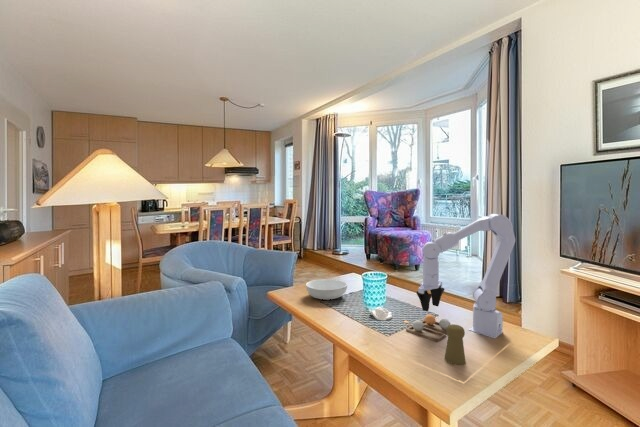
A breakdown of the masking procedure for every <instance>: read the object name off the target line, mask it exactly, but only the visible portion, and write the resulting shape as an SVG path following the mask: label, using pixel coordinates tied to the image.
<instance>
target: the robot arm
mask: <svg viewBox="0 0 640 427" xmlns="http://www.w3.org/2000/svg"><path fill="white" fill-rule="evenodd" d="M513 225H514V224H513V223H512V221H511V220H510V218H508V217H507V216H506V215H504V214H499V213H489V214H488V215H487V216H486V215H485V216H483V217H479V218H478V219H476V220H474V221H473V222H471V223H469V224H467V225H466V226H463V227H462V228H461V229H459V230H457V231H455V232H452V231H448V232H446V231H444V232H443V233H442V235H441V236H439V237H437V238H435V239H434V238H432V239H431V241H428V242H426V243H424V245H423V246H422V248H421V249H422V250H421V251H422V253H423V257H422V259H423V261H422V282H420V286H419V287H418V288H417V291H416V295H417V297H418V298H419V301H420V305H421V309H422V311H426V312H428V311H429V310H430V301H431V303H432V306H434V307H439V305H440V301H441V298H442V295H443V294H444V292H445V288H444V287H443V281H441V280H439V276H440V275H439V272H440V271H439V268H440V267H439V256H440V254H442V253H445V252H446V251H448V250H451V249H453V248H454V247H456V246H458V244H459V241H461V240H463V239H465V238H467V237H470V236H471V235H474V234H476V233H477V232H480V231H481V232H482V231H483V232H490V231H491V232H492V233H493V235H494V236H495V238H496V240H497V242H496V243H497V244H496V246H495V249H494V251H493V254H492V257H491V258H490V261H489V264H488V266H487V269H486V271H485V274H484V276H483V279H482V280H481V281H480V282H479V283H478V286H477V287H476V288H475V289H474V290H473V291H472V297H473V299H474V303H473V307H472V327H470V328H468V329H467V331H470V332H473V333H476V334H479V335H483V336H486V337H489V338H492V339H496V338H498V337H499V336H500V335H502V334H503V333H504V331H503V328H504V327H503V325H504V324H503V319H504V317H503V313H502V312H501V311H499V310H497V309H496V306H497V295H498V285H499V283H500V281H501V278H502V275H503V273H504V271H505V269H506V266H507V264H508V262H509V258H510V256H511V254H512V251H513V249H514V246H515V245H516V244H515V243H516V236H515V232H514V228H513ZM429 292H430V293H429Z"/></svg>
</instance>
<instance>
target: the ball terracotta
mask: <svg viewBox="0 0 640 427" xmlns="http://www.w3.org/2000/svg"><path fill="white" fill-rule="evenodd" d="M424 320H425V322H426V324H428V325H433V324H435V321H436V322H437V320H436V317H435V315H433V314H426V316H425V317H424Z"/></svg>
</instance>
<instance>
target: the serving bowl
mask: <svg viewBox="0 0 640 427" xmlns="http://www.w3.org/2000/svg"><path fill="white" fill-rule="evenodd" d="M305 287H306V291H307V293H308V295H310V296H311V297H312V298H315V299H319V300H322V299H323V300H324V301H329V300H330V299H331V300H333V299H338V298H340V297H342V296H344V294H346V292H347V289H348V283H347V282H346V281H345V280H344V281H343V280H340V279H334V278H333V279H332V278H329V279H328V278H324V279H323V278H321V279H313V280H310V281H308V282H306V284H305ZM323 300H322V301H323ZM331 300H330V301H331Z"/></svg>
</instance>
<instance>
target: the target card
mask: <svg viewBox="0 0 640 427" xmlns="http://www.w3.org/2000/svg"><path fill="white" fill-rule="evenodd" d="M402 323H404V324H409V323H410V321H408V320H404V321H402ZM411 326H413V323H412V324H411Z"/></svg>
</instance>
